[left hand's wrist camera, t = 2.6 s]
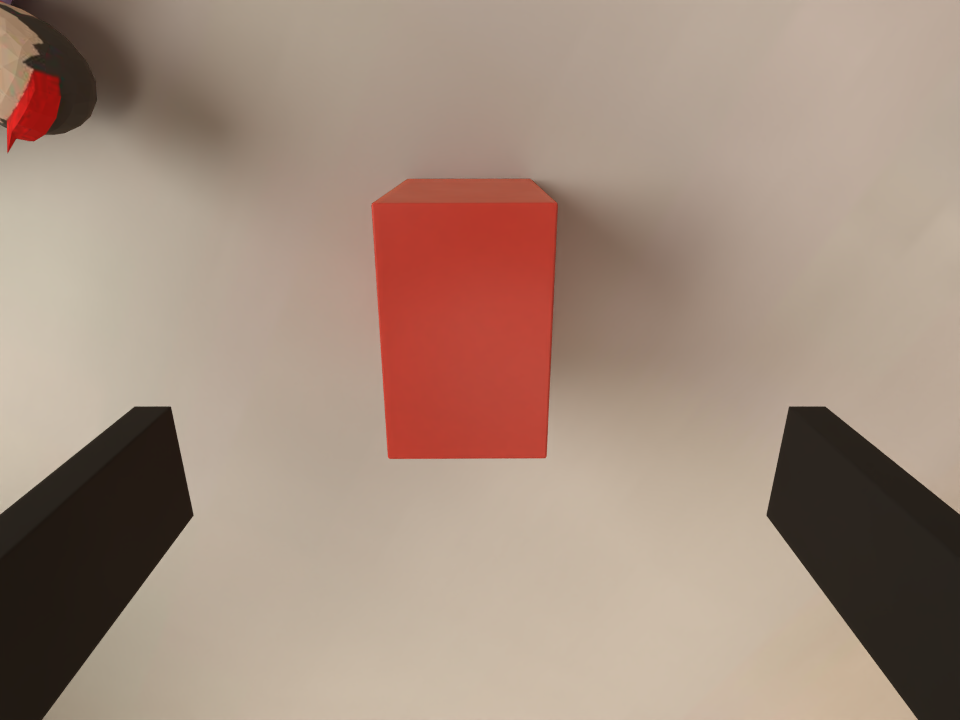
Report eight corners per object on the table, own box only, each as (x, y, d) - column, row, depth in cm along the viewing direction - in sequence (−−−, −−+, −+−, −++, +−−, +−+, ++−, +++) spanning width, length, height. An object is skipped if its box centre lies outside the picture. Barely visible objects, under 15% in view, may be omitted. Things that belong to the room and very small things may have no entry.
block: (414, 361, 27) (387, 459, 19) (406, 178, 25) (371, 203, 16) (526, 361, 27) (546, 459, 19) (531, 178, 25) (558, 202, 16)
